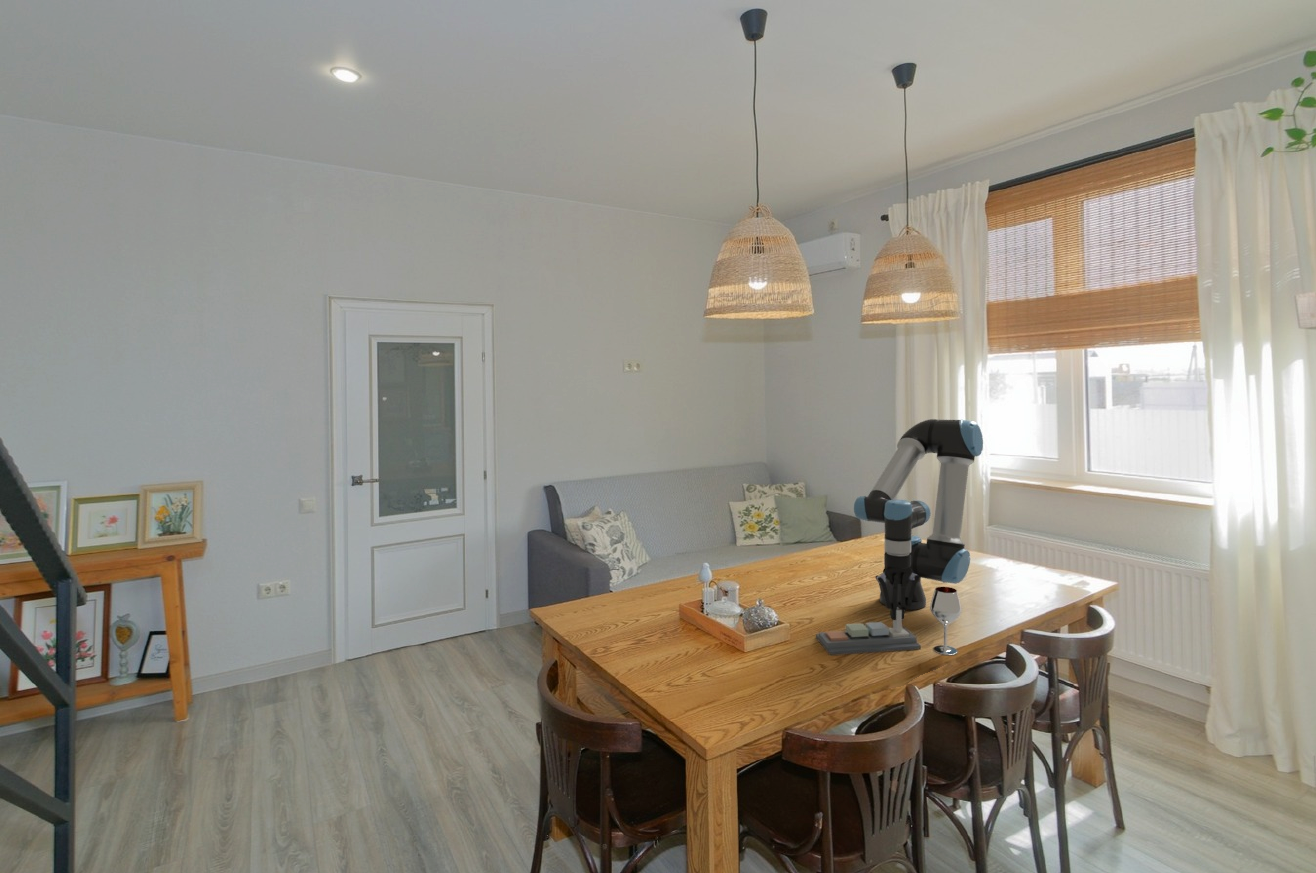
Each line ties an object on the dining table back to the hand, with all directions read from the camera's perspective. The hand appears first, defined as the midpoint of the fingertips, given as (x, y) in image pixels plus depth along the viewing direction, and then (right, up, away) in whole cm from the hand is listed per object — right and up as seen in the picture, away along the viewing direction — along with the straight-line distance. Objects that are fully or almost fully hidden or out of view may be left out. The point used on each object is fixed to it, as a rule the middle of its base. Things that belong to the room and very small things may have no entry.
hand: (897, 629), depth 201 cm
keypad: (-9, -4, 0) cm, 10 cm away
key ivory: (0, -2, 0) cm, 2 cm away
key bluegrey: (-6, -1, 0) cm, 6 cm away
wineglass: (+11, -4, -7) cm, 14 cm away
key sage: (-12, -1, -1) cm, 12 cm away
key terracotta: (-18, -3, -1) cm, 19 cm away
